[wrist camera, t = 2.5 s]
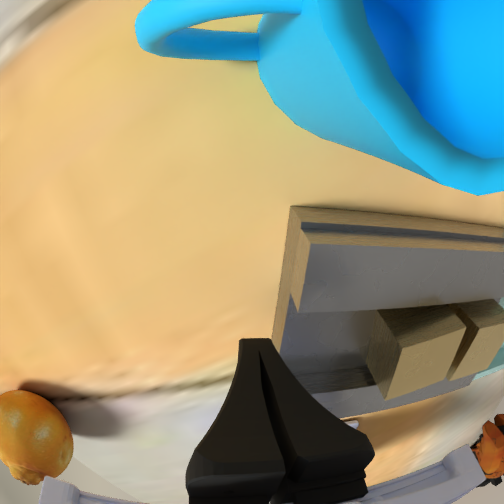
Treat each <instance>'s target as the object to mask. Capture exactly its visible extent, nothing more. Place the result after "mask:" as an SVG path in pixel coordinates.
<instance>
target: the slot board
mask: <svg viewBox="0 0 504 504" xmlns="http://www.w3.org/2000/svg"><path fill="white" fill-rule="evenodd" d="M501 297H504V228H499V227H492V226H486V225H479V224H471V223H464V222H456V221H449V220H441V219H432V218H423V217H415V216H405V215H396V214H385V213H375V212H364V211H352V210H340V209H326V208H312V207H297V206H290V213H289V221H288V229H287V236H286V244H285V251H284V259H283V266H282V273H281V280H280V287H279V294H278V301H277V307H276V314H275V321H274V327H273V333H272V340H271V341H272V343H273V345H274V346H275V348H276V350H277V351H278V353H279V355H280V356H281V358H282V359H283V361H284V362H285V364H286V365H287V367H288V368H289V369H290V371H291V372H292V373H293V375H294V376H295V377H296V379H297V380H298V381H299V382H300V383H301V385H302V386H303V387H304V388H305V389H306V390H307V391H308V392H309V393H310V394H311V395H312V396H313V397H314V398H315V399H316V400H317V401H318V402H319V403H320V404H321V405H322V406H323V407H325V408H326V409H327V410H328V411H330V412H331V413H332V414H334V415H335V416H336V417H337V418H345V417H350V416H356V415H361V414H367V413H372V412H376V411H381V410H386V409H390V408H394V407H398V406H402V405H406V404H410V403H414V402H418V401H421V400H425V399H428V398H432V397H435V396H438V395H442V394H445V393H448V392H451V391H454V390H457V389H460V388H463V387H465V386H468V385H470V383H471V382H472V380H473V379H474V377H475V376H476V374H477V373H478V372H477V373H474V374H471V375H468V376H465V377H462V378H459V379H456V380H452V381H448V380H447V378H446V377H445V378H444V380H441V381H439V382H437V383H434V384H431V385H429V386H426V387H424V388H421V389H418V390H416V391H413V392H410V393H407V394H404V395H401V396H398V397H395V398H392V399H389V400H386V401H385V400H384V398H383V396H382V394H381V392H380V390H379V388H378V386H377V384H376V382H375V380H374V378H373V376H372V374H371V372H370V370H369V368H368V366H367V364H366V359H367V355H368V350H369V345H370V340H371V335H372V330H373V325H374V319H375V313H376V310H378V309H393V308H407V307H419V306H431V305H441V304H446V305H447V306H448V304H451V303H461V302H470V301H478V300H486V299H494V300H495V301H496V302H497V303H498V304H499V302H500V299H501Z"/></svg>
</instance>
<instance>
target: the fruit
mask: <svg viewBox="0 0 504 504" xmlns="http://www.w3.org/2000/svg"><path fill="white" fill-rule="evenodd" d="M72 455H73V437H72V433H71V430H70V428H69V425H68V424H67V422H66V420H65V418H64V417H63V415H62V414H61V412H60V411H59V410H58V409H57V408H56V407H55V406H54V405H53V404H52V403H50V402H49V401H48V400H46V399H45V398H43V397H41V396H39V395H37V394H34V393H31V392H28V391H24V390H13V391H8V392H5V393H3V394H2V395H0V459H1V460H2V461H3V462H4V464H5V465H6V466H8V467H9V468H10V472H11V474H12V476H13V477H14V478H15V479H17V480H21V482H22V483H25V484H27V485H29V484H32V485H37V484H39V482H40V481H44V477H45V476H50V477H53V478H55V477H57V476H59V475H60V474H61V473H62V472H63V471H64V470H65V469H66V468H67V466H68V464H69V462H70V460H71V458H72Z"/></svg>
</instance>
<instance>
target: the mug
mask: <svg viewBox="0 0 504 504" xmlns="http://www.w3.org/2000/svg"><path fill="white" fill-rule="evenodd" d="M255 14H263V16H262V18H261V20H260V22H259V25H258V31H257V33H244V32H230V31H213V30H205V29H195V28H188V27H191V26H194V25H197V24H200V23H204V22H207V21H211V20H216V19H223V18H230V17H237V16H245V15H255ZM135 31H136V36H137V40H138V43H139V45H140V47H141V48H142V49H143V50H145V51H147V52H150V53H153V54H156V55H159V56H162V57H172V58H181V59H205V60H241V61H257V65H258V70H259V75H260V79H261V80H262V82H263V84H264V86H265V87H266V89H267V91H268V93H269V94H270V96H271V98H272V100H273V102H274V103H275V105H276V106H278V107H279V108H280V109H281V110H282V111H283V112H284V113H285V114H286V115H287V116H288V117H289V118H290V119H291V120H292V121H293V122H294V123H295V124H296V125H298V126H300V127H302V128H304V129H305V130H307V131H309V132H311V133H313V134H315V135H317V136H318V137H320V138H322V139H326V140H329V141H332V142H335V143H338V144H341V145H344V146H347V147H350V148H353V149H356V150H358V151H361V152H364V153H367V154H370V155H372V156H375V157H378V158H380V159H383V160H385V161H388V162H391V163H393V164H396V165H398V166H401V167H403V168H405V169H408V170H410V171H413V172H415V173H417V174H420V175H422V176H424V177H426V178H429V179H431V180H433V181H435V182H437V183H440V184H442V185H445V186H449V187H452V188H455V189H459V190H462V191H465V192H468V193H471V194H474V195H477V196H479V195H485V194H490V193H495V192H501V191H504V0H152V1H151V2H149V3H148V4H147V5H146V6H145V7H144V8H143V9H142V10H141V12H140V13H139V14H138V16H137V18H136V21H135Z"/></svg>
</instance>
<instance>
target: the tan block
mask: <svg viewBox="0 0 504 504" xmlns="http://www.w3.org/2000/svg"><path fill="white" fill-rule="evenodd" d="M465 330H466V326H465V325H464V324H463V322H462V321H461V320H460V319H459V318H458V317H457V316H456V315H455V314H454V312H453V311H452V310H451V309H450V308H449V307H448V306H447V305H446V304H441V305H431V306H419V307H407V308H393V309H378V310H376V313H375V319H374V325H373V330H372V335H371V340H370V345H369V350H368V355H367V359H366V364H367V366H368V368H369V370H370V372H371V374H372V376H373V378H374V380H375V382H376V384H377V386H378V388H379V390H380V392H381V394H382V396H383V398H384V400H385V401H386V400H389V399H392V398H395V397H398V396H401V395H404V394H407V393H410V392H413V391H416V390H418V389H421V388H424V387H426V386H429V385H431V384H434V383H437V382H439V381H441V380H444V378H445V376H446V374H447V372H448V370H449V368H450V366H451V363H452V361H453V359H454V357H455V354H456V352H457V350H458V347H459V345H460V343H461V340H462V338H463V335H464V333H465Z"/></svg>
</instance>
